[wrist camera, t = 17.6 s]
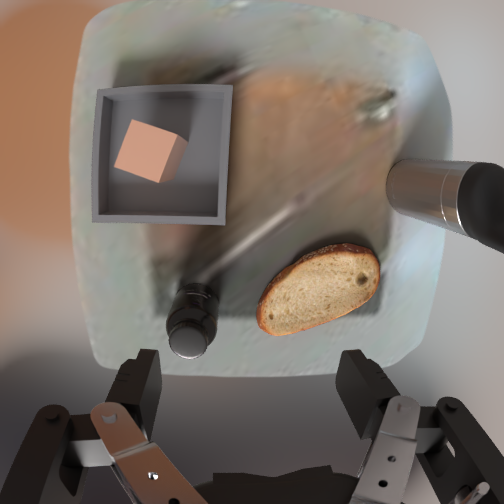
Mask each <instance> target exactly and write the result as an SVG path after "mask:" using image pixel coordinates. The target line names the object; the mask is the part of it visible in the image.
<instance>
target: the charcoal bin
mask: <svg viewBox="0 0 504 504" xmlns="http://www.w3.org/2000/svg"><path fill="white" fill-rule="evenodd" d="M232 92H233V85H220V84H164V85H143V86H129V87H118V88H108V89H99V90H97V99H96V108H95V119H94V132H93V150H92V222H97V223H161V224H199V225H225V216H226V194H227V174H228V155H229V138H230V121H231V106H232ZM132 119H133V120H136V121H139V122H142V123H145V124H148V125H151V126H154V127H157V128H160V129H163V130H166V131H169V132H172V133H175V134H177V135H179V136H180V137H182V138H183V139H185V140H186V141H187V142H188V145H187V147H186V149H185V152H184V154H183V157H182V159H181V162H180V164H179V167H178V169H177V172H176V175H175V177H174V180H169V181H165V182H161V183H157V182H155V181H152V180H149V179H146V178H144V177H141V176H138V175H135V174H133V173H130V172H127V171H124V170H122V169H119V168H116V167H114V165H115V162H116V160H117V157H118V154H119V151H120V149H121V146H122V143H123V141H124V138H125V135H126V133H127V130H128V128H129V125H130V123H131V120H132Z"/></svg>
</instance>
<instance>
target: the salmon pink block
mask: <svg viewBox="0 0 504 504" xmlns="http://www.w3.org/2000/svg"><path fill="white" fill-rule="evenodd" d="M187 145H188V142H187V141H186V140H185V139H183V138H182V137H180V136H179V135H177V134H175V133H172V132H169V131H166V130H163V129H160V128H157V127H154V126H151V125H148V124H145V123H142V122H139V121H136V120H133V119H132V120H131V123H130V125H129V128H128V130H127V133H126V135H125V138H124V141H123V143H122V146H121V149H120V151H119V154H118V157H117V160H116V162H115V165H114V167H116V168H119V169H122V170H124V171H127V172H130V173H133V174H135V175H138V176H141V177H144V178H146V179H149V180H152V181H155V182H157V183H161V182H165V181H169V180H174V177H175V175H176V172H177V169H178V167H179V164H180V162H181V159H182V157H183V154H184V152H185V149H186V147H187Z"/></svg>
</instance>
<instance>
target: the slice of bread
mask: <svg viewBox="0 0 504 504" xmlns="http://www.w3.org/2000/svg"><path fill="white" fill-rule="evenodd" d="M379 281H380V265H379V262H378V260H377V258H376V257H375V255H374V254H373V252H372V251H371V250H370V249H368V248H365V247H361V246H357V245H354V244H350V243H343V244H336V245H330V246H327V247H323V248H320V249H318V250H316V251H313V252H311V253H309V254H306V255H303V256H302V257H301V258H300V259H299V260H297V261H296V262H295V263H294V264H292V265H290V266H288V267H286V268H285V269H284V270H283V271H282V272H280V273H279V274H278V275H277V276H276V277H275V278H274V279H273V280H272V281H271V282H270V283H269V285H268V286H267V287H266V289H265V290H264V292H263V294H262V296H261V298H260V300H259V303H258V306H257V315H256V317H257V322H258V326H259V327H260V329H262V330H263V331H265V332H267V333H268V334H271V335H275V336H280V335H287V334H293V333H296V332H299V331H301V330H306V329H309V328H312V327H315V326H317V325H320V324H323V323H326V322H329V321H331V320H333V319H336V318H338V317H340V316H343V315H345V314H347V313H349V312H350V311H352V310H354V309H355V308H358V307H359V306H361V305H362V304H363V303H365V302H366V301H368V300H369V299H370V298H371V297H372V295H373V294H374V293H375V291H376V289H377V287H378V284H379Z"/></svg>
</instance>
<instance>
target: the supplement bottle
mask: <svg viewBox="0 0 504 504" xmlns="http://www.w3.org/2000/svg"><path fill="white" fill-rule="evenodd" d="M218 309H219V303H218V298H217V296H216V294H215V293H214V292H213V290H212V289H210V288H209V287H207V286H205V285H203V284H198V283H193V284H188V285H186V286H184V287H182V288H181V289H180V290H179V291H178V293H177V295H176V297H175V299H174V302H173V304H172V307H171V309H170V312H169V314H168V317H167V320H166V331H167V334H168V336H169V345H170V347H171V349H172V350H173V352H174V353H176V354H177V355H179V356H180V357H183V358H187V359H192V358H194V359H195V358H198V357H199V356H201V355H202V354H204V352H205V351H206V349H207V346H209V345H210V344H211V343H212V342H213V340H214V339H215V337H216V333H217V324H218Z"/></svg>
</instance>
